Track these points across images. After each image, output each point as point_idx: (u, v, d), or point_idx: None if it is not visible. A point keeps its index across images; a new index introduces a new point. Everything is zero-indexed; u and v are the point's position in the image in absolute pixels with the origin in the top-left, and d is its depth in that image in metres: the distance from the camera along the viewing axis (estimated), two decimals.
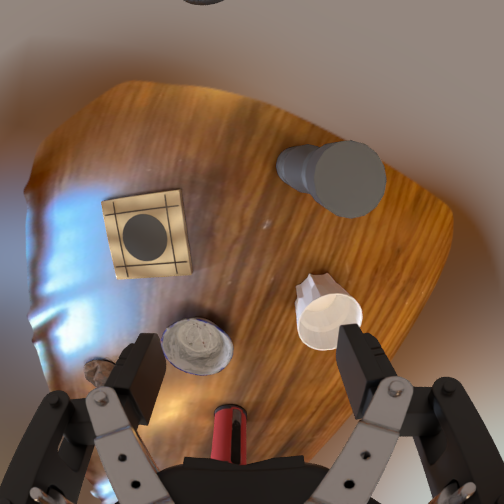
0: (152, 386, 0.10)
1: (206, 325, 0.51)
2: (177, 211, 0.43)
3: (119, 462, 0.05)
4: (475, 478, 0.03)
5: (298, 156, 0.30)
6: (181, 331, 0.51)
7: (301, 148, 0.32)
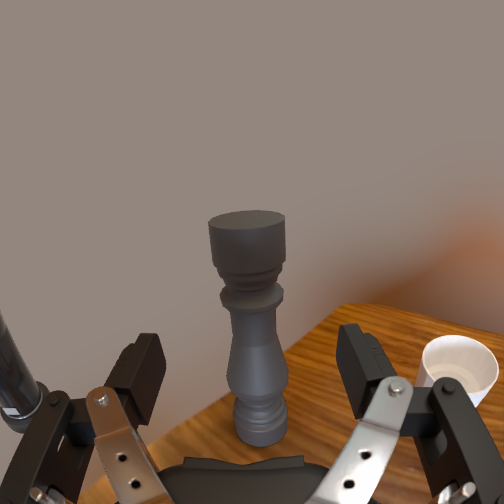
0: (152, 386, 0.10)
1: None
2: None
3: (119, 462, 0.05)
4: (475, 478, 0.03)
5: (233, 359, 0.24)
6: None
7: (228, 365, 0.26)
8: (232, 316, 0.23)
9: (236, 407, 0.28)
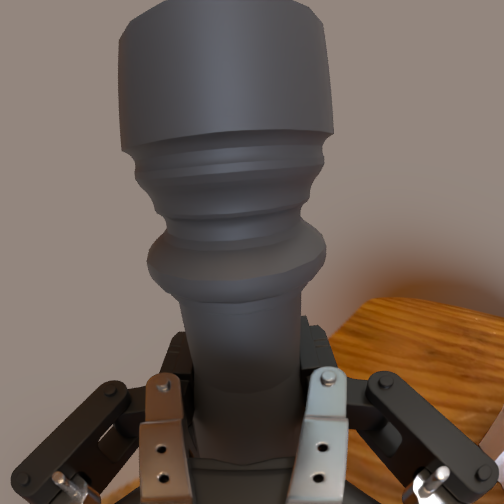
0: None
1: None
2: None
3: (156, 453, 0.05)
4: (445, 461, 0.04)
5: (195, 412, 0.09)
6: None
7: None
8: (182, 309, 0.08)
9: None
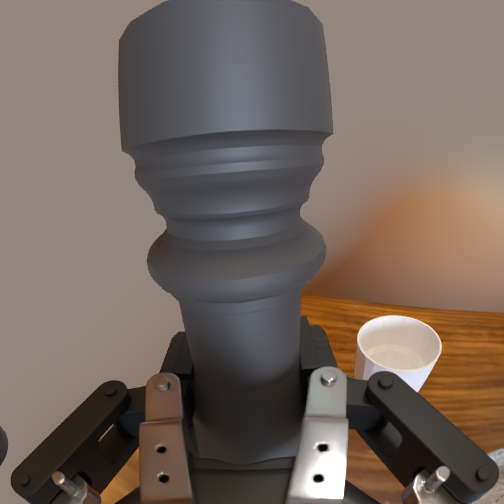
0: None
1: None
2: None
3: (156, 453, 0.05)
4: (445, 461, 0.04)
5: (195, 411, 0.09)
6: None
7: None
8: (182, 309, 0.08)
9: None
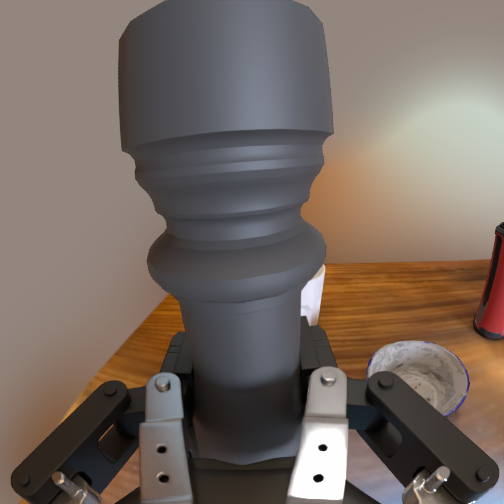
0: None
1: None
2: None
3: (156, 453, 0.05)
4: (445, 461, 0.04)
5: (195, 412, 0.09)
6: None
7: None
8: (182, 309, 0.08)
9: None
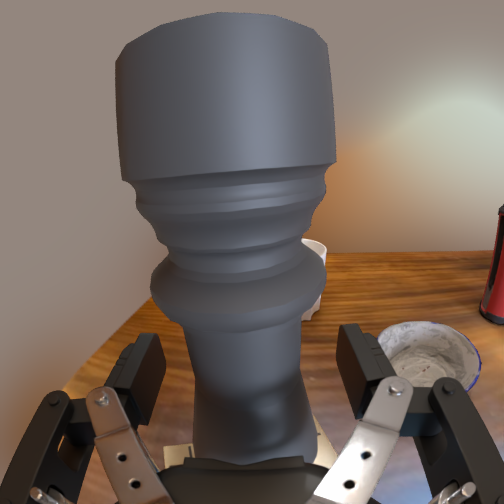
0: (152, 386, 0.10)
1: None
2: None
3: (119, 462, 0.05)
4: (475, 478, 0.03)
5: (199, 425, 0.10)
6: None
7: (193, 428, 0.11)
8: (185, 332, 0.08)
9: None
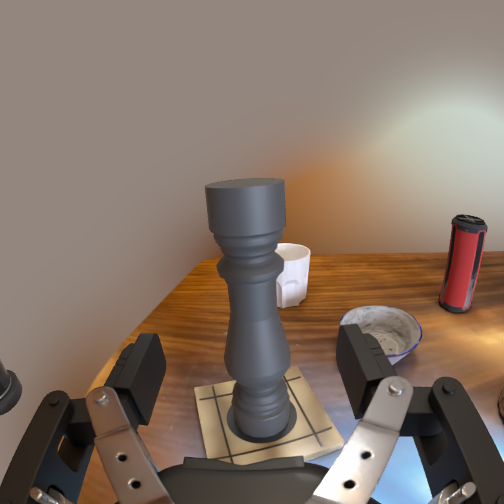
0: (152, 386, 0.10)
1: None
2: (219, 386, 0.34)
3: (119, 462, 0.05)
4: (475, 478, 0.03)
5: (231, 337, 0.23)
6: None
7: None
8: (230, 288, 0.22)
9: (234, 393, 0.26)
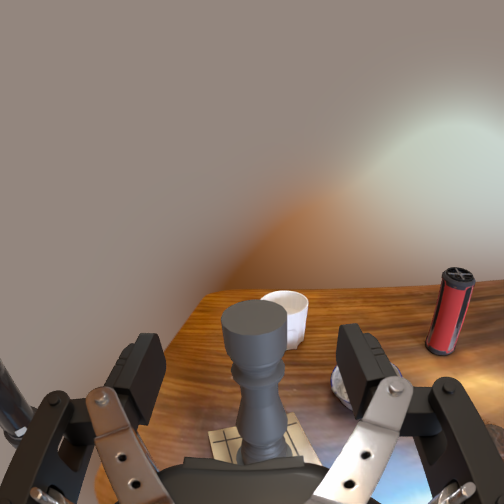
0: (152, 386, 0.10)
1: (345, 391, 0.44)
2: (229, 431, 0.38)
3: (119, 462, 0.05)
4: (475, 478, 0.03)
5: (242, 414, 0.27)
6: None
7: (237, 416, 0.29)
8: (241, 386, 0.26)
9: (243, 445, 0.30)
